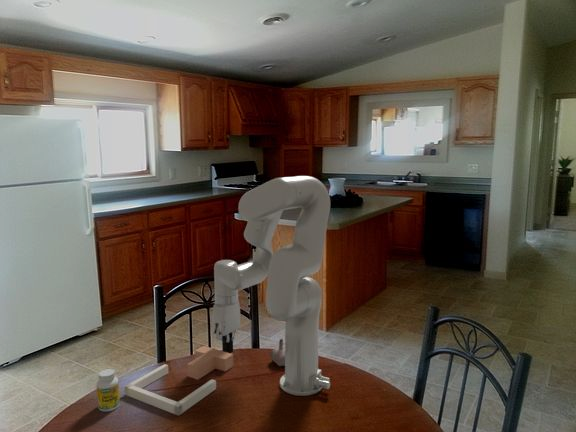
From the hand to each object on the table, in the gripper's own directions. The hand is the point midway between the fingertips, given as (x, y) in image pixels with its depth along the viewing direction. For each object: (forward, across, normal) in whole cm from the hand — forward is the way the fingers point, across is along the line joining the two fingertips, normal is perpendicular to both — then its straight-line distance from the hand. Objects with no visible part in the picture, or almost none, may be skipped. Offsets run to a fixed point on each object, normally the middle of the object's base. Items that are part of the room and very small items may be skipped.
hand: (227, 351), depth 146 cm
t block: (+1, +11, 0) cm, 11 cm away
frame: (+1, +26, 0) cm, 26 cm away
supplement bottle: (+2, +39, -9) cm, 40 cm away
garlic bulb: (+2, -5, +18) cm, 19 cm away
